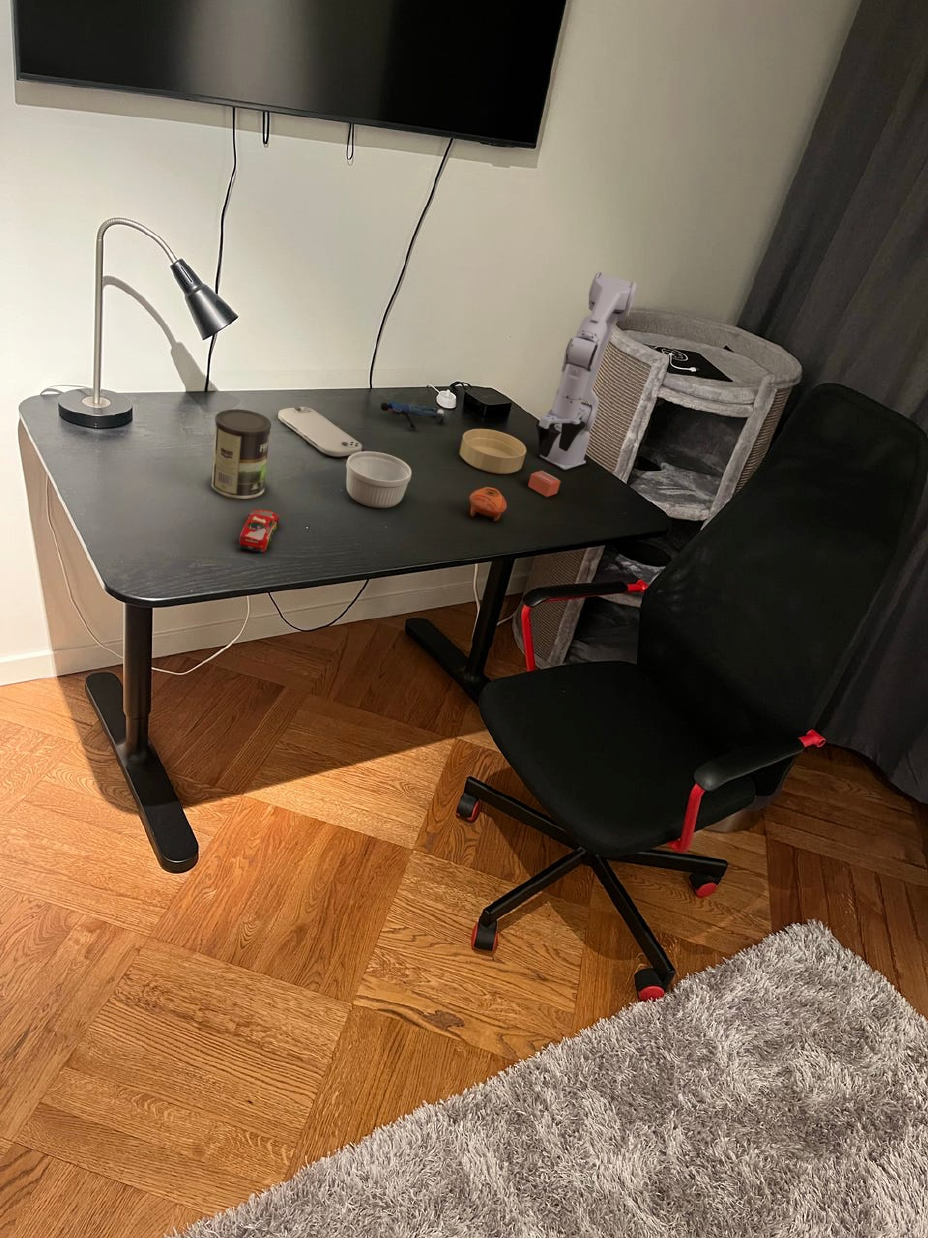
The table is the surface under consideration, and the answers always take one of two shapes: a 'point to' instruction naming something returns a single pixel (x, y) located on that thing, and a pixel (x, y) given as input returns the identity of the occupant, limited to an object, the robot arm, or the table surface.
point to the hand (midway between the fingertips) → (553, 452)
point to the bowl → (492, 451)
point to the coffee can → (240, 453)
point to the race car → (258, 530)
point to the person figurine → (413, 411)
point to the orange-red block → (544, 483)
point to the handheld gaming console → (319, 432)
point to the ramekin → (377, 479)
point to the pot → (487, 502)
